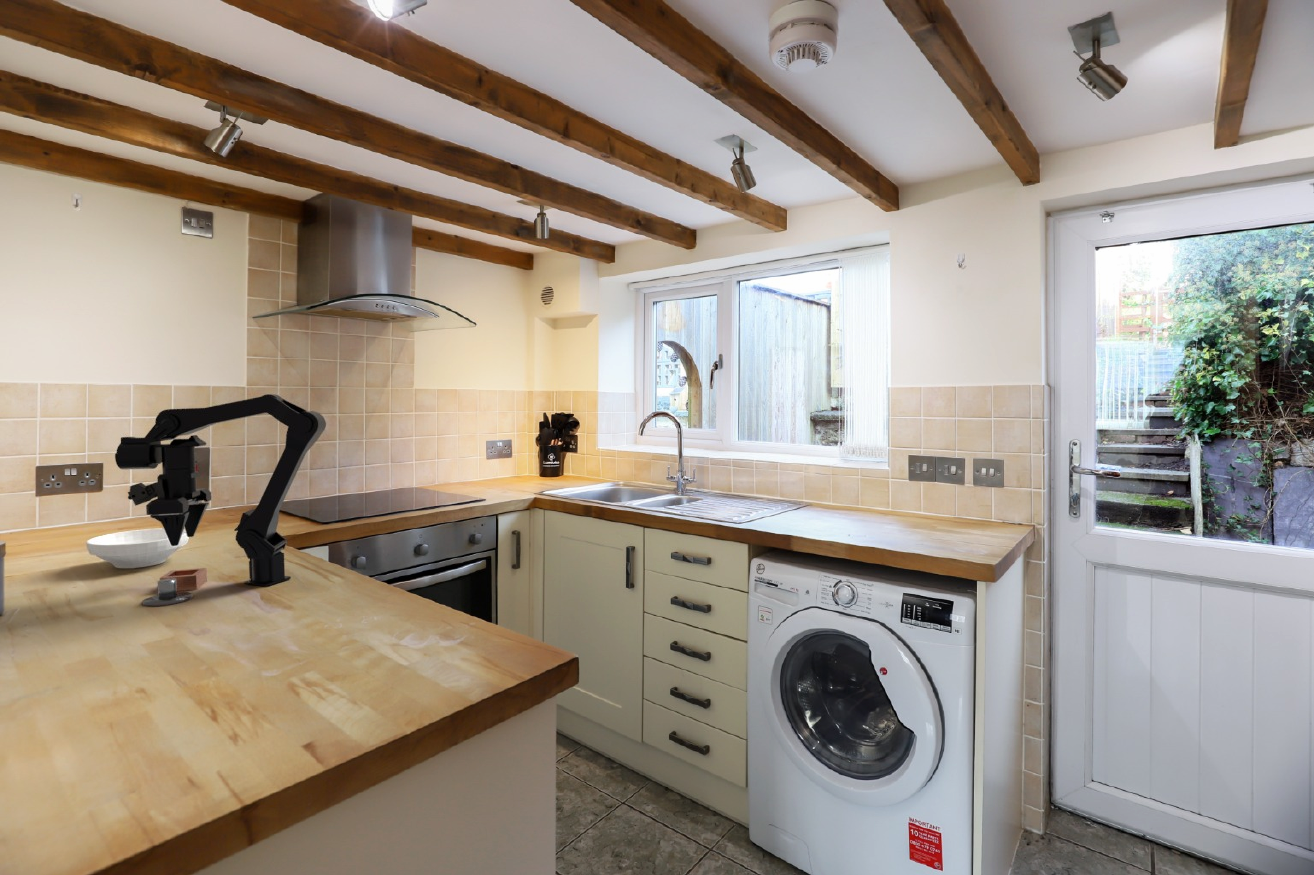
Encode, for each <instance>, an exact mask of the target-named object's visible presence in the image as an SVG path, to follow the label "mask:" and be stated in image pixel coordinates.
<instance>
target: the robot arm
mask: <svg viewBox="0 0 1314 875" xmlns="http://www.w3.org/2000/svg"><path fill="white" fill-rule="evenodd" d="M264 414H268V415H270V416H272V417H273V418H274V419H276V420H277V421H278V422H280V423H281V424H283V425H285V426H287V430H286V435H285V448H284V449H283V452H282V453H281V456H280V458H279V460H278V462H277V464H276V466H275V469H274V471H273V473H272V475H271V477H270V479H269V480H268V483H267V485H266V488H265V489H264V491H263V494H262V496H261V497H260V498H261V499H260V500H259V502H258V504H257V506H256V507H255V508H252V509H249V510H247V511H244V512H243V513H242V515H241V516H240V521H239V524H237V526H236V527H235V529H233V530H234V532H236V534H235V541H236V543H237V545H238V546H239V547H240V548H241V549H243V551H244V553H245V555H246V557H247V559H248V560H249V561H248V570H249V571H248V572H249V574H248V575H249V579H248V580H245V581H244V583H243V584H244V585H249V586H250V585H251V586H260V587H269V586H273V585H275V584H278V583H281V582H285V581H288V580H291V576H290V575H286V574H285V569H286V568H285V553H284V552H282V551H283V550H285V549H286V546H287V542H288V539H287V538H285V537H284V536H282V534H281V533H279V532H278V531H277V528H278V525H279V516H280V509H281V508H282V505H283V503H284V501H285V499H286V497H287V495H288V492H289V491H290V488H291V487H292V484H293V482H294V479H295V478H296V476H297V474H298V471H299V469H300V466H301V465H302V463H303V460H304V459H305V456H306V454H308V451H310V449H312V447H313V446H314V444H316V443H317V441H318V440H319V439H320V437H321V435H322V434H323V433H324V432H325V430H326V427H327V421H326V420H325V417H324V416H323V415H322V414H321V413H320V412H317V411H314V410H313V411H309V410H306V409H304V408H302V407H301V406H299V405H296V404H294V403H293V402H290V401H288V400H286V399H284V398H283V397H282V396H280V395H279V394H273V393H271V394H270V393H269V394H264V395H261V396H257V397H253V398H247V399H242V400H237V401H232V402H227V403H222V404H218V405H212V406H206V407H192V408H189V407H188V408H167V409H164V410H162V411H160V412H159V413H158V414H157V415H156V417H155V423H154V425H153V426H152V428H150V430H149V431H148V432H147V434H146V435H145V436H144V437H136V436H123V437H120V443H119V444H118V446H117V448H116V452H115V454H114V459H115V460H114V461H115V464H116V465H117V467H118V468H119V469H120V470H124V471H125V470H151V469H153V470H154V469H156V468H157V467H158V466H159V465H160V464H161V467H162V469H161V470H162V473H160V474H158V475H157V481H156V482H153V483H151V484H147V485H146V484H144V483H143V482H139V483H136V484H132V485H130V486H129V491H127V494H128V496H127V499H128V500H132V501H133V504H134V506H139V505H142V504H145V503H147V504H146V505H145V508H146V510H145V511H146V516H149V517H150V518H152V519H154V520H157V521H158V522H159V523H161V525H162V528H164V529H165V532H166V534H167V536H168V539H169V541H170V544H171V546H177V545H178V544H179V541H180V538H181V536H182V533H183V530H184V529H185V530H186V534H187V537H189V538H193V537H194V536H195V534H196V532H197V530H198V528H199V525H200V523H201V521H202V519H203V516H204V515H205V512H206V510H207V508H208V506H209V505H210V501H212V491H210V490H209V489H208V488H197V486H198V484H197V477H200V471H197V470H196V467H197V466H196V447H197V448H199V447H205V446H207V442H206V441H204V440H203V439H201V437H199V435H196V434H193V433H196V432H199V431H202V430H204V429H207V428H209V427H211V426H213V425H216V424H220V423H225V422H230V421H235V420H239V419H244V418H251V417H254V416H260V415H264ZM192 434H193V435H192ZM188 435H190V436H189V438H178V437H181V436H188ZM170 440H171V441H170ZM163 441H170V443H162V442H163Z"/></svg>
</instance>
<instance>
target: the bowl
mask: <svg viewBox="0 0 1314 875" xmlns="http://www.w3.org/2000/svg"><path fill="white" fill-rule="evenodd" d="M189 538H190V537H187V534H186V530H185V528H184V530H183V533H182V536H181V538H180V541H179V544H178V545H177V546H171V544H170V541H169V539H168V536H167V534H166V532H165V529H164V527H162V528H161V527H160V528H144V529H134V530H126V531H120V532H119V531H118V532H114V533H112V532H111V533H108V534H104V535H99V536H95V537H92V538H90V539H88V540H86V542H85V543H86V549H87V552H88V554H89V555H91V556H96V557H97V558H99V559H101V560H103V561H105V562H107V563H110V564H111V565H113V567H115V568H117V569H135V568H137V569H138V568H145V567H146V568H147V567H151V566H156V565H159V564H162V563H165V562H166V560H167V559H168V558H169V557H171V555H173V554H175V553H176V552H177V551H178V550H180V549H181V548H182V546H185V545H186V544H188V543H189Z"/></svg>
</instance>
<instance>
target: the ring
mask: <svg viewBox="0 0 1314 875" xmlns="http://www.w3.org/2000/svg"><path fill="white" fill-rule="evenodd" d="M170 578H175V579H176V580H177V592H185V591H195V590H198V589H199V588H201V587H202V586H203V585H204V584H206V583H207V582H208V575H207V567H200V568H199V567H198V568H188V569H186V568H185V569H173V570H172V569H171V570H170V571H168V572H167V573H166V574H164V575H162V576H160V577H159V580H163V579H170Z"/></svg>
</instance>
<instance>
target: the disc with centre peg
mask: <svg viewBox="0 0 1314 875" xmlns="http://www.w3.org/2000/svg"><path fill="white" fill-rule="evenodd" d="M193 595H194V594H193V593H192V592H189V591H177V580H176V579H175V578H170V579H163V580H160V579H158V581H157V594H156V595H151V596H149V597H145V598H144V599H143V600H142V606H144V607H165V606H171V605H176V604H180V603H183V602H187V601H189V600H191V599H193Z"/></svg>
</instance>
